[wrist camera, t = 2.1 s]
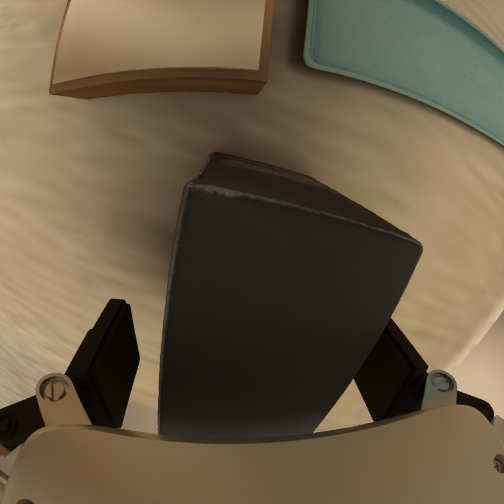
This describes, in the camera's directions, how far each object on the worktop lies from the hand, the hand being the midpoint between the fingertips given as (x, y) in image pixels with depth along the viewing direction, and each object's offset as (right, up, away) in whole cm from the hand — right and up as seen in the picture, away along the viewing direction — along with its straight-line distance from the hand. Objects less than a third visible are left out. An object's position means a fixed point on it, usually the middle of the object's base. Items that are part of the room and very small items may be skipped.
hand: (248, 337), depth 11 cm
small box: (0, +4, +7) cm, 8 cm away
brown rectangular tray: (-4, +18, 0) cm, 19 cm away
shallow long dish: (+16, +17, +3) cm, 23 cm away
